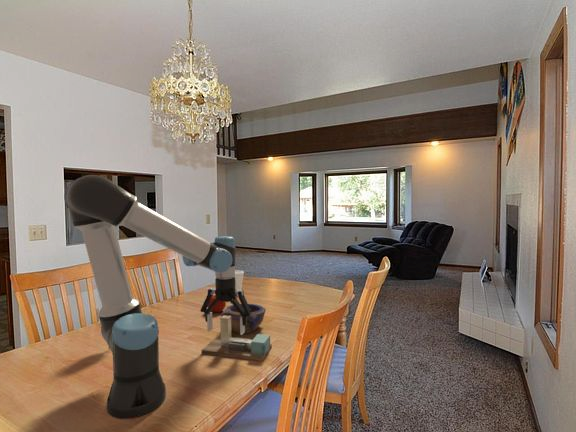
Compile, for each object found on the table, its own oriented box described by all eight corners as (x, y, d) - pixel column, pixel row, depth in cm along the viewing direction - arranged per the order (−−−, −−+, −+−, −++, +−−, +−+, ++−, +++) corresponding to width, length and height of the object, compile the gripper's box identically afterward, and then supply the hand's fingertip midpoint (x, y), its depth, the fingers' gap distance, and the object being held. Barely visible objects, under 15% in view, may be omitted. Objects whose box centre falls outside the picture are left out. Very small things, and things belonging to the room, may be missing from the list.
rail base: (262, 360, 114) (262, 351, 114) (201, 353, 120) (201, 343, 120) (271, 347, 124) (271, 338, 124) (215, 340, 130) (215, 332, 130)
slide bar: (262, 351, 118) (262, 321, 118) (220, 346, 122) (220, 317, 122) (264, 348, 121) (264, 319, 120) (223, 343, 125) (223, 315, 124)
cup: (247, 292, 201) (247, 271, 201) (236, 296, 193) (236, 274, 192) (235, 289, 207) (235, 269, 206) (224, 293, 198) (224, 272, 198)
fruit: (203, 313, 162) (203, 294, 162) (212, 307, 172) (212, 289, 171) (221, 315, 160) (220, 295, 160) (228, 309, 169) (228, 290, 169)
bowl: (270, 323, 149) (270, 302, 148) (256, 339, 132) (256, 315, 131) (235, 319, 154) (234, 299, 153) (217, 334, 136) (216, 311, 136)
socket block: (264, 355, 116) (264, 343, 115) (251, 353, 117) (251, 341, 117) (270, 346, 122) (270, 335, 122) (257, 345, 124) (257, 333, 123)
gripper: (259, 276, 123) (260, 331, 123) (201, 273, 129) (201, 325, 130) (252, 281, 115) (253, 339, 116) (190, 277, 121) (191, 332, 122)
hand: (226, 331), depth 123 cm, fingers open, 13 cm apart
